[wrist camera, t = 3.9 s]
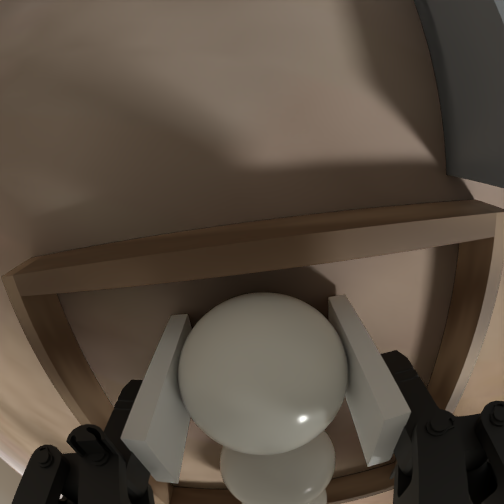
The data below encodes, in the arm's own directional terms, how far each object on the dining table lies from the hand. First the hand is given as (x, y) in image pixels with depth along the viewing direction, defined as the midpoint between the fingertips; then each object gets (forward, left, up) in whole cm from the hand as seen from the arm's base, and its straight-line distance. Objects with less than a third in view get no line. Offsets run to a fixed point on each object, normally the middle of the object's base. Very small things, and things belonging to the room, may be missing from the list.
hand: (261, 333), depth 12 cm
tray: (-7, 0, 0) cm, 7 cm away
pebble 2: (-7, 0, 0) cm, 7 cm away
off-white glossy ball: (0, 0, 0) cm, 0 cm away
